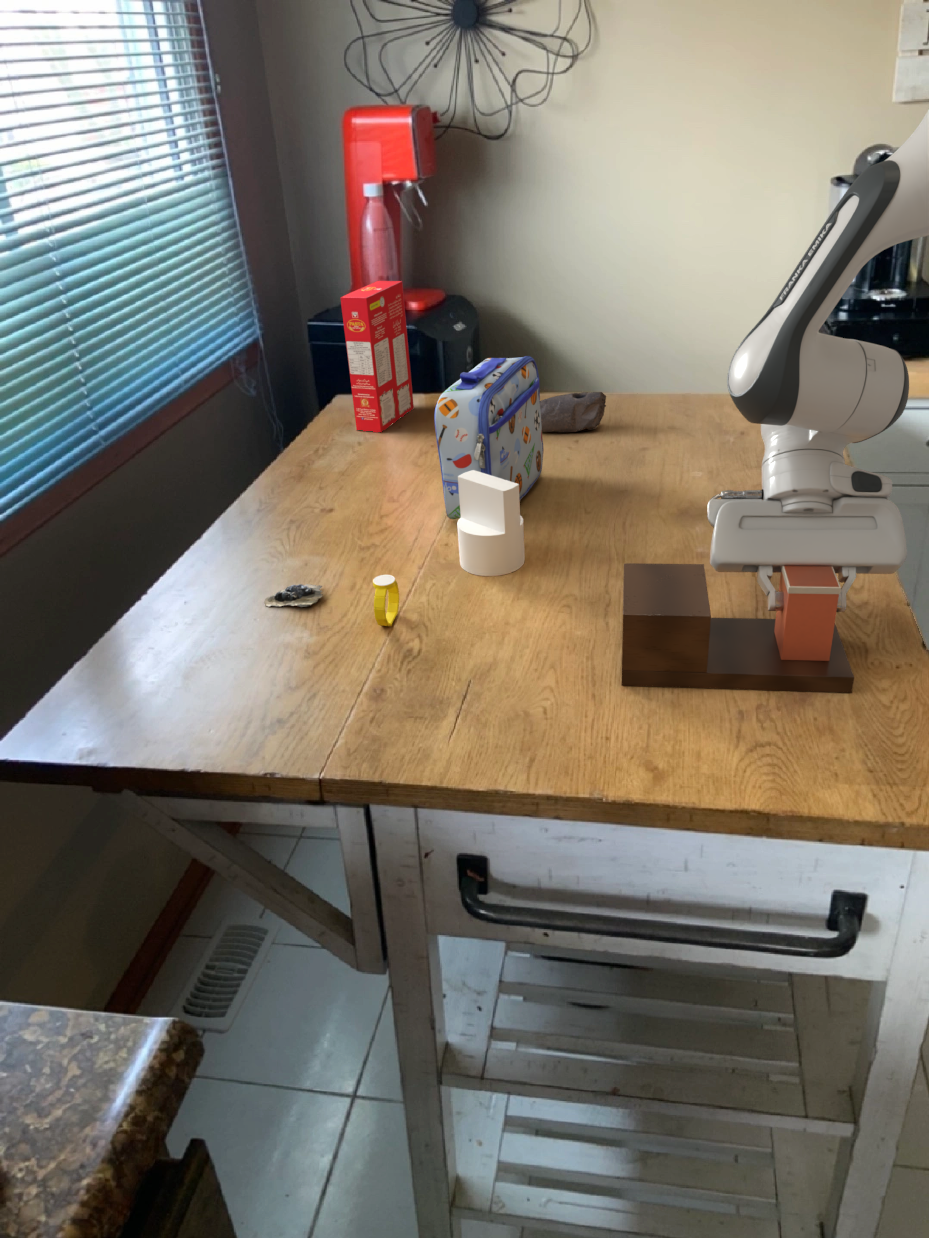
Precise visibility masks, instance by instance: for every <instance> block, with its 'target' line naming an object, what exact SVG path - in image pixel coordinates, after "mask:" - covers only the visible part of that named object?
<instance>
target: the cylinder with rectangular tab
mask: <svg viewBox="0 0 929 1238" xmlns="http://www.w3.org/2000/svg"><path fill="white" fill-rule="evenodd" d="M458 487H459V501H460V515H461V518H460V519H457V523H456V528H457V529H456V530H457V541H458V542H457V543H458V554H459V565H460V568H462V570H463V571H464V572H467V573H468V574H471V575H474V576H481V577H497V576H498V577H499V576H504V575H507V574H508V575H509V574H511V573H513V572H516V571H518V570H519V569H521V568H522V567H523V565H524V564H525V561H526V560H525V559H526V557H525V553H526V552H525V531H524V530H525V529H524V518H523V516H522V515H521V505H520V504H521V503H520V502H521V500H520V501H519V484H517V483H514V482H511V481H507V480H504V479H501V478H498V477H495V476H491V475H488V474H485V473H482V472H478V471H475V470H471V471H468V472H465V473H463V474H461V475H459V476H458Z"/></svg>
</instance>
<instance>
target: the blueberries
mask: <svg viewBox="0 0 929 1238" xmlns="http://www.w3.org/2000/svg"><path fill="white" fill-rule="evenodd" d="M322 588H323V585H321V584H320V585H319V584H318V585H317V584H311V583H306V584H302V583H299V584H292V585H290V586H287V587H286V588H284V589H282V590H278V591H277V592H276V593H273V594H272V595H270V596H267V597H266V598H265V599H264V602H263V603H264V605H265V606H267V607H271V606H272V607H282V606H283V607H284V606H291V607H294V606H297V607H300V608H303V607H305V608H307V607H310V606H312V605H313V604H317V603H318V601H319V599H322V597H323V595H324V594H323V590H321V589H322Z"/></svg>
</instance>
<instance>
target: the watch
mask: <svg viewBox="0 0 929 1238" xmlns="http://www.w3.org/2000/svg"><path fill="white" fill-rule="evenodd" d="M372 587H373V588H374V589H375V590H374V597H373V613H374V614H373V615H374V619H375V621H376V624H377V625H378V626H381V627H392V626H393V623H394V621H395V619H396V617H397V615H398V614H399V608H400V590H399V584H398V582H397V580H396V578H395V576H393V575H391V574H380V575H377V576H375V577H374V578H373V579H372ZM386 597H387V599H388V600H386ZM386 601H387V610H386Z"/></svg>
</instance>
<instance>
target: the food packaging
mask: <svg viewBox="0 0 929 1238" xmlns="http://www.w3.org/2000/svg"><path fill="white" fill-rule="evenodd" d="M403 285H404V284H403V281H402V280H401V281H400V280H376V281H374V282H372V283H370V284H367V285H365V286H363V287H360V288H358V289H356V290H354V291H351V292H349V293H347V294H345V295H343V296H341V297H340V306H341V313H342V314H341V315H342V321H343V331H344V338H345V347H346V353H347V362H348V371H349V379H350V388H351V396H352V403H353V413H354V420H355V427H356V428H355V429H356V431H357V430H363V431H362V432H366V431H373V432H372V433H378V432H381V433H383V432H384V431H386V430H387V429H388V428H390V427H391V426H392V425H393V424H392V423H394V424H396V423H397V422H398V421H399V420H400V419H399V418H400V417H402V418H404V417H405V416H406V415H407V414H406V413H407V412H409V411H410V412H412V411H413V410H414V409H415V406H414V396H413V385H412V384H413V383H412V372H411V371H412V370H411V361H410V352H409V342H408V341H409V339H408V329H407V327H408V326H407V317H406V305H405V297H404V296H405V295H404V286H403ZM413 408H414V409H413ZM412 409H413V410H412ZM411 410H412V411H411ZM410 412H409V413H410ZM405 414H406V415H405ZM404 415H405V416H404ZM398 419H399V420H398ZM397 420H398V421H397ZM396 421H397V422H396ZM391 424H392V425H391ZM390 425H391V426H390ZM389 426H390V427H389ZM383 430H384V431H383ZM382 431H383V432H382Z"/></svg>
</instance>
